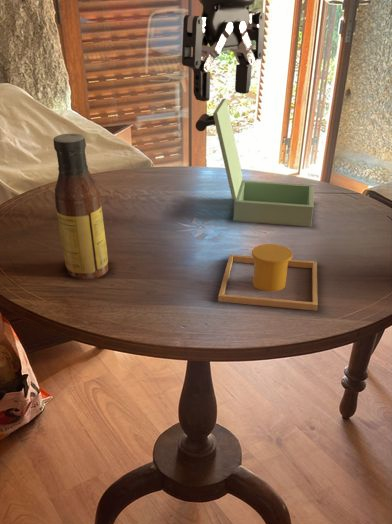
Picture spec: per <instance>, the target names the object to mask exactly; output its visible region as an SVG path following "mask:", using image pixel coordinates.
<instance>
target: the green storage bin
mask: <svg viewBox="0 0 392 524" xmlns="http://www.w3.org/2000/svg"><path fill="white" fill-rule="evenodd" d="M314 203H315V201H314V185H313V184H301V183H300V184H299V183H285V182H272V181H259V180H258V181H256V180H243V179H242V182H241V185H240V188H239V191H238V195H237V198H236V199H234V201H233V216H232V217H233V218H232V221H233V222H242V223H243V222H245V223H256V224H270V225H281V226H283V225H284V226H293V227H295V226H297V227H307V228H308V227H312V220H313V214H314Z"/></svg>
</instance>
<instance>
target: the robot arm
mask: <svg viewBox="0 0 392 524" xmlns="http://www.w3.org/2000/svg"><path fill="white" fill-rule="evenodd" d="M198 2H199V3H200V4H201V5H202V12H201V15H192V14H185V15H184V17H183V20H182V21H183V26H182V45H181V46H182V47H181V49H182V51H181V64H182V65H183V67H188V68H190V69H191V70H192V71H193V96H194V98H195V100H196V101H200V102H208V101H209V100H210V98H211V95H210V94H211V93H210V92H211V72H210V69H211V67H212V65H213V63H214V61H215V59H216V58H219V56H220V54H221V52H224V51H225V52H226V51H228V50H230V52H232V53H233V55H234V57H235V59H236V61H237V64H236V66H235V79H234V91H235V93H238V94H241V95H242V94H243V95H245V94H248V93H249V92H250V87H251V83H252V81H251V80H252V67H253V65H255V63H256V61H257V60H262V59H263V57H264V43H265V42H264V40H265V22H266V21H265V20H266V19H265V16H266V15H265V12H264V11H263V12H262V11H256V10H253V11H252V10H250V6H251V5H253V4H254V3H255V2H256V0H198ZM254 42H255V49H254Z"/></svg>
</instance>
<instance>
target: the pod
mask: <svg viewBox="0 0 392 524" xmlns="http://www.w3.org/2000/svg"><path fill="white" fill-rule="evenodd" d="M251 256H253V257H254V258H255V263H254V267H253V279H252V284H253V286H254V287H255V288H256V289H257V290H260V291H264V292H271V293H273V292H279V291H282V290H283V289H285V287H286V283H287V274H288V267H289V266H288V261H290V260H293V259H292V258H293V251H292V250H291V249H290V248H288V247H286V246H284V245H281V244H273V243H265V244H260V245H257V246H254V247H253V249H251Z"/></svg>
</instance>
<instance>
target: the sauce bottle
mask: <svg viewBox="0 0 392 524" xmlns="http://www.w3.org/2000/svg"><path fill="white" fill-rule="evenodd" d="M86 147H87V143H86V139H85V136H84V134H81V133H61V134H58V135H56V136H54V138H53V148H54V151H55V152H56V159H57V166H58V167H57V170H58V175H57V181H56V184H55V188H54V201H55V203H54V204H55V210H56V215H57V221H58V227H59V235H60V240H61V244H62V245H61V246H62V251H63V258H64V263H65V268H66V269H67V273H68V275H69V276H71V277H73V278H76V279H79V280H89V279H95V278H96V279H97V278H100V277H102V276H104V275H105V274H106V273H107V272H108V271H109V265H108V263H109V257H108V256H109V255H108V247H107V240H106V239H107V238H106V232H105V223H104V215H103V209H102V208H103V207H102V203H101V198H100V191H99V187H98V182H97V180H96V179H95V178H94V177H93V175H92V173H91V172H90V170H89V166H88V163H87V156H86Z"/></svg>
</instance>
